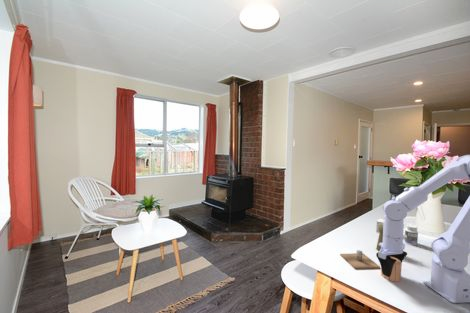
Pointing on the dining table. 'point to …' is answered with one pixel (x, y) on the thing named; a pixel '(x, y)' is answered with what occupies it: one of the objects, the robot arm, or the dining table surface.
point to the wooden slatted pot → (394, 271)
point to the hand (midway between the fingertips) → (390, 272)
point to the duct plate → (361, 263)
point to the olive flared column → (380, 237)
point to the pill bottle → (411, 234)
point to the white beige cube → (379, 222)
